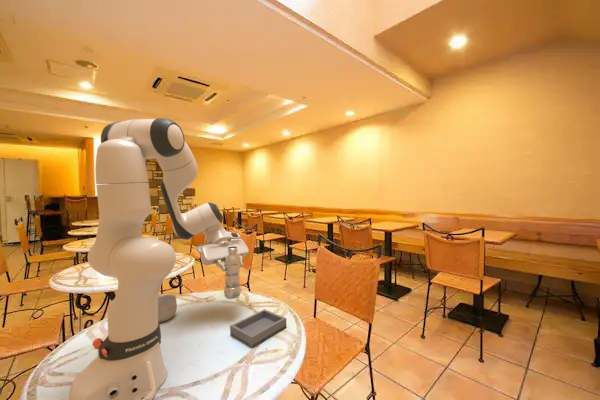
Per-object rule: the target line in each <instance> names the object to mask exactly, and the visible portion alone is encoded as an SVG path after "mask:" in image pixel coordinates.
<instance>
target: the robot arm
mask: <svg viewBox="0 0 600 400" xmlns="http://www.w3.org/2000/svg"><path fill="white" fill-rule="evenodd" d="M154 159H156V162H157V164H158V165H159V167H160V169H161V171H162V175H163V177H162V180H161V181H160V183H159V187H160V192H161V195H162V198H163V201H164V203H165V207H166V209H167V213H168V215H169V218H170V220H171V226H172V229H173V230H172V231H173V233H174V234H175V236H176V237H178V239H181V240H187V241H188V240H190V239H192V238H193V237H195V236H196V235H198V234H201V233H202V234H203V235H204V237H205V241H206V242H205V243H199V244H198V245H197V247H196V250H197V252H198V254H199V257H200V260H201V263H202V264H203V265H204V266H210V265H214V264H215V266H216V267H217V268H219V269H220V270H221V272H225V271H226V270H227V267H226V265H224V264H223V263H224V260H225V258H226V256H227V255H228V247H232V246H235V247H237V254H238V256H239V257H240V260H241V263H240V268H242V267H243V266H244V263H243V258H245V257H246V256H247V255H248V254H249V252H250V249H249V247H248V245H247V244H246V243H245V241H244V240H243V239H242V238H241V235H240V234H239V233H237V232H231V231H227V230H226V229H225V228H224V226H223V222H224V221H223V220H224V216H223V214H222V213H221V212H220V210H219V207H218V206H217V204H215V203H213V202H210V201H209V202H205V203H203V204H201V205H198V206H196V207H195V208H193V209H190V210H188V211H185V212H181V210H180V205H179V203H178V199H179V196H180V195H181V194H182V193H183V192H184V191H185V190H186V189H187V188H188V187H190V186H191V185H192V184H193V183H194V182H195V180H196V178H197V176H198V172H199V167H198V166H199V165H198V163H197V160H196V158H195V156H194V154H193V152H192V150H191V149H190V146H189V145H188V143H187V142H186V140H185V134H184V131H183V130H182V128H181V127H180V125H179V124H178V123H177V122H175V121H174V120H172V119H170V118H165V117H158V118H133V119H128V120H127V119H126V120H124V121H114V122H111V123H109V124H107V125H105V126H104V128H102V131H101V135H100V144H99V146H98V147H97V150H96V157H95V171H94V172H95V183H96V194H97V204H98V224H97V229H96V230H97V232H96V236H95V240H94V243H93V244H92V245H91V247H90V248H89V250H88V251H87V263H88V266H90V268H92V269H93V270H95V271H96V272H98V273H99V274H100V275H102V276H104V277H110V278H116V279H117V282H118V283H117V284H118V286H117V290H116V293H115V296H114V298H113V299H112V300H111V301H110V302H109V304H108V305H107V308H106V314H107V316H106V317H107V336H106V338H105V339H104V340H103V339H102V338H100V337H99V338H95V339H94V340H93V341H92V344H91V345H92V346H93V348H94V349H95V350H98V354H97V356H96V357H95V358H94V359H93V360H92V361H91V362H90V363H89V364H88V365H87V366H86V367H85V368H84V369H83V370H82V371H81V372H79V374H77V375H76V377H75V378H74V379H73V381H72V383H71V386H70V390H69V394H68V395H69V396H66V397H64V398H63V399H62V400H154V398H155V397H154V396H156V395H157V391H158V389H159V388H160V387H162V384H163V383H164V382H165V380H166V379H167V376H168V371H167V368H166V366H165V363H164V360H163V357H162V351H161V344H162V341H161V340H162V329H161V323H160V322H158V296H160V295H159V294H160V289H161V286H162V284H163V281H164V280H165V279H166V278H167V277H168V276H170V274H171V273H172V271H173V270H174V268H175V265H176V261H177V260H176V259H177V255H176V251H175V249H174V247H173V246H172V245H171V244H170V243H167V242H165V241H163V240H160V239H158V238H155V237H144V236H143V233H142V232H143V226H144V223H145V221H146V218H148V217H149V216H150V214H151V211H152V204H151V203H152V202H151V193H150V192H151V190H150V181H149V175H148V169H147V164H146V161H147V160H154Z"/></svg>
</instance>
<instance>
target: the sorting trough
mask: <svg viewBox="0 0 600 400" xmlns="http://www.w3.org/2000/svg"><path fill="white" fill-rule="evenodd" d="M286 328H287V318H286V317H284V316H282V315H279V314H277V313H275V312H272V311H270V310H267V309H262V310H260V311H258V312H255V313H254V314H252V315H249V316H248V317H246V318H243V319H240V320H239V321H237V322H235V323H233V324H230V325H229V330H230V331H229V334H230V336H231V337H232V338H234V339H236V340H237V341H239V342H240V343H242V344H244V345H246V346H247V347H249V348H250V349H254V348H255V347H257V346H259V345H260V344H261V343H263V342H265V341H267V340H268V339H270V338H271V337H273V336H275V335H276V334H279V333H280V332H282V331H283V330H286Z"/></svg>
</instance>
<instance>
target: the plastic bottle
mask: <svg viewBox="0 0 600 400" xmlns="http://www.w3.org/2000/svg"><path fill="white" fill-rule="evenodd" d="M223 263H224V264H223V265H226V267H227V270H226V271H224V272H225V274H224V275H225V282H224V289H223V294H224V295H223V296H224V297H225V298H226V299H228V300H232V299H233V300H235V299H238V298H239V297H240V296H241V291H242V288H241V281H240V268H241V267H240V263H241V260H240V257H239V256H238V254H237V247H235V246H232V247H228V255H227V256H226V258H225V260H224V262H223Z"/></svg>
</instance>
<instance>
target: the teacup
mask: <svg viewBox="0 0 600 400" xmlns="http://www.w3.org/2000/svg"><path fill="white" fill-rule="evenodd" d="M177 304H178V303H177V295H175V294H173V293H169V294H164V293H161V294H160V295H158V323H162V322H166V321H168V320H170V319H171V318H173V316H174V315H175V314H176V312H177V306H178V305H177Z"/></svg>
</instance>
